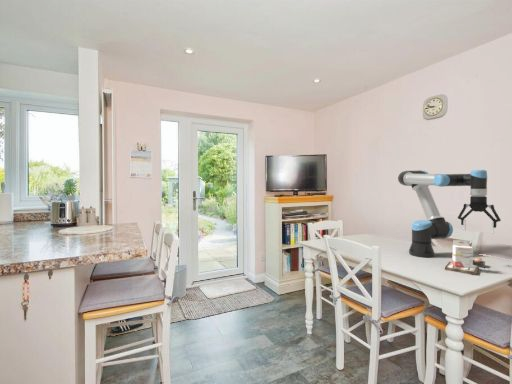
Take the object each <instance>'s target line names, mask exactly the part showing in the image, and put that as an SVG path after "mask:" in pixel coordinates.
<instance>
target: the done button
mask: <svg viewBox="0 0 512 384" xmlns="http://www.w3.org/2000/svg"><path fill="white" fill-rule="evenodd" d="M473 260H474V262H478V263H482V261H483V258H479V257H473Z"/></svg>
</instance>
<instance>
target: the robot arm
mask: <svg viewBox="0 0 512 384" xmlns="http://www.w3.org/2000/svg"><path fill="white" fill-rule="evenodd" d="M397 182H399V184H400V185H402V186H407V187H410V186H411V188H412V190H413V191H414V192H416V194H417V197H418V200H419V202H420V205H421V208H422V210H423V212H424V215H425V218H426V219H425V220H423V219H422V220H416V221H413V222H412V223H411V244H410V246H409V249H408V254H409V255H411V256H414V257H418V258H434V257H435V250H434V247H433V246H432V245H433V244H432V240H443V239H444V240H445V239H448V238H450V237H451V236H452V234H453V231H454V228H453V225H452V224H451V222H449V221H446V219H445V217H444V216H441V213H440V211H439V209H438V206H437V204H436V202H435V200H434V198H433V197H434V196H433V195H432V192H431V190H430V188H429V187H430V186H436V187H470V194H469V195H470V197H469V199H470V203H464V204H463V207H462V209H461V211H460V212H459V215H458V216H457V219H458V220H461V221H460V223H461V226H462V227H463V229H462V230H463V232H466V227H467V224H466V220H467V219H466V218H467V217H469V215H470V214H471V213H473V212H477V213H478V212H480V213H481V212H484V213H485V214H486V216H488V217H489V219H490V220H491V234H494V233H495V231H494V230H495V229H494V228H497V223H498V222H501V221H502V220H501V218H500V216H499V214H498V213H497V211H496V209H495V205H494V204H488V203H487V202H488V197H487V195H488V187H487V186H488V173H487V170H485V169H474V170H470V173H450V174H449V173H447V174H444V173H443V174H442V173H429V172H428V171H426V170H421V169H420V170H405V171H401V172H400V173H399V174H398V177H397ZM468 207H469V208H470V210H469V211H468V212H466V213H465V211H466V209H467V208H468ZM487 208H489V209H490V210H491V212H492V213H493V215H494V216H493V215H492V214H491V213H490V212H489V211H488V210H487ZM464 213H465V214H464ZM463 214H464V215H463Z"/></svg>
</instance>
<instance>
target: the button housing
mask: <svg viewBox="0 0 512 384" xmlns="http://www.w3.org/2000/svg"><path fill="white" fill-rule="evenodd" d="M473 265H474V266H479V268H483V269H484V268H485V266H486V261H483V260H482V263H478V262H474V259H473Z"/></svg>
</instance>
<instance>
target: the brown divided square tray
mask: <svg viewBox="0 0 512 384" xmlns="http://www.w3.org/2000/svg"><path fill="white" fill-rule="evenodd" d="M479 269H480V267H479V266H474V265H473V268H466V267H455V266H454V265H453V264H452V261H448V262H447V264H446V265H445V266H444V270H445V271H450V272H455V273H461V274H467V275H473V276H477V274H478V272H479Z"/></svg>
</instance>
